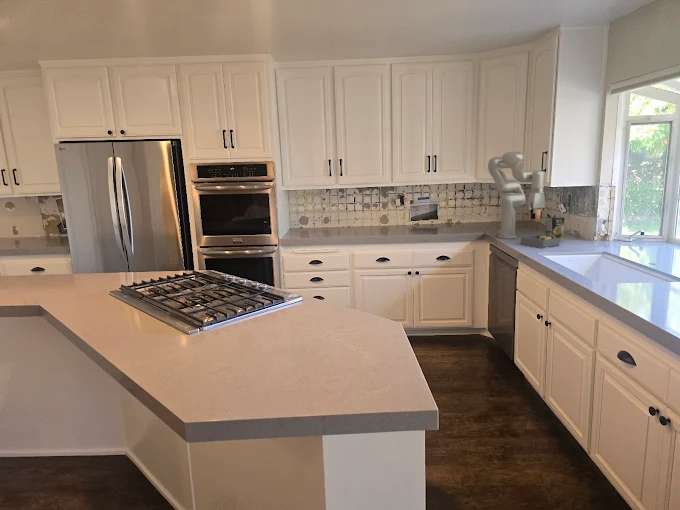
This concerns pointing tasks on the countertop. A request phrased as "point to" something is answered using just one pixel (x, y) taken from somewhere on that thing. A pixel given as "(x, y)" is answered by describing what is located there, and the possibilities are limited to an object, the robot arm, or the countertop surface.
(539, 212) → the terracotta cylinder
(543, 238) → the maple cube
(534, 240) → the tote
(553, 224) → the coffee box
